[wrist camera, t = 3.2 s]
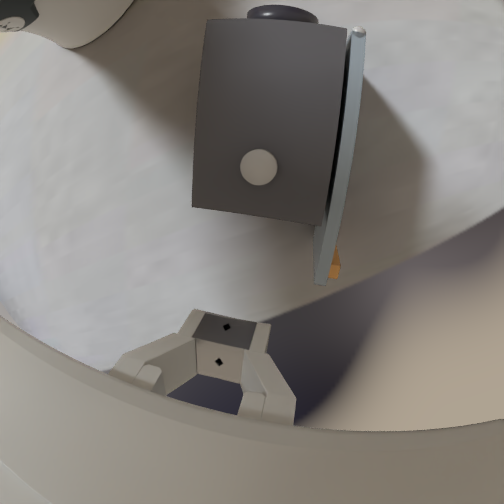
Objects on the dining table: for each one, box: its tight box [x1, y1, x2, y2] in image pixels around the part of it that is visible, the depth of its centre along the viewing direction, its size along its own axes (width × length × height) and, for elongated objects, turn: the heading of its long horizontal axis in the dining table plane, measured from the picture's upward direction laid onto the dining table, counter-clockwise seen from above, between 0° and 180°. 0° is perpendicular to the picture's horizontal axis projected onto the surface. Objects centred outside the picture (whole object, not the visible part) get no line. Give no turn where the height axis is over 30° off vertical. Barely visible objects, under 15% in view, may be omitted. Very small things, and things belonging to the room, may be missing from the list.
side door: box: [313, 26, 366, 286], centre depth 18 cm, size 16×2×8 cm, turn 174°
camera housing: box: [192, 5, 347, 226], centre depth 17 cm, size 14×8×9 cm, turn 174°
